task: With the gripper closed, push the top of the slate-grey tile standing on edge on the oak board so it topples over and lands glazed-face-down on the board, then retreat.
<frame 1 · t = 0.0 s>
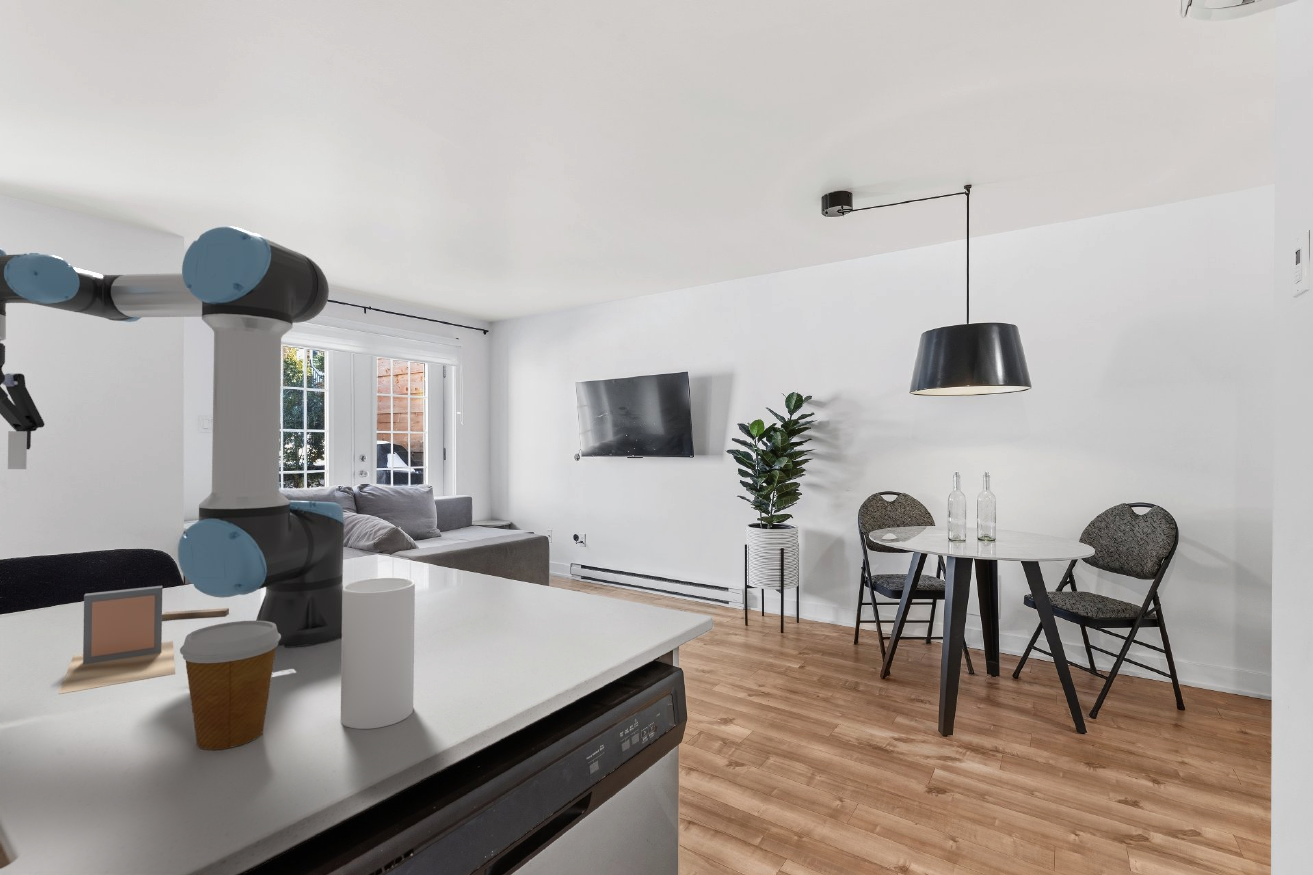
board: (122, 668, 93), on the kitchen counter
cup: (377, 715, 78), on the kitchen counter
tile: (123, 656, 96), point 1 cm above the kitchen counter, touching board
turner: (163, 621, 116), on the kitchen counter
disposable coffee cup: (230, 738, 72), on the kitchen counter
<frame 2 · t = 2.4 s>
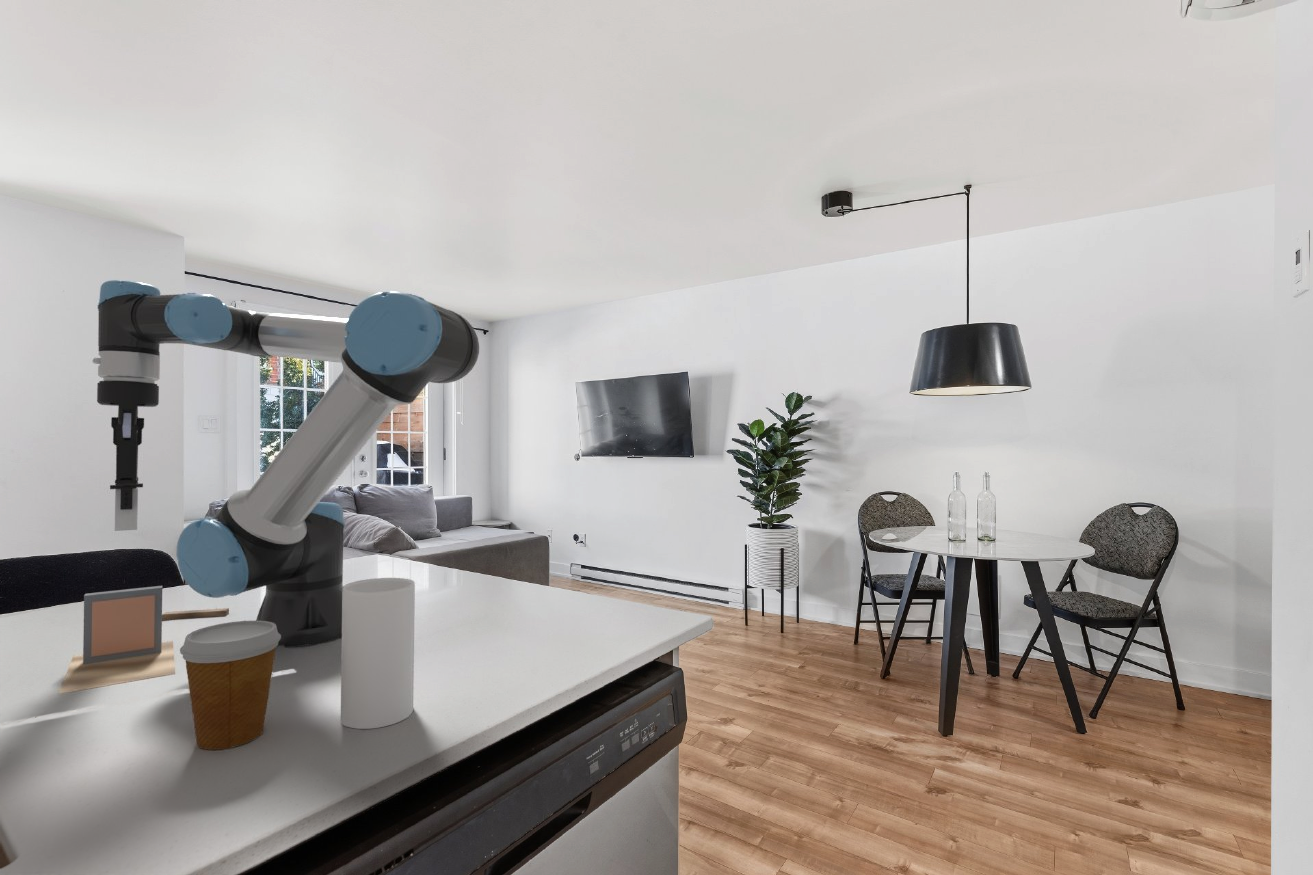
hand: (126, 529, 101), 19 cm above the kitchen counter, fingers closed
nothing on the kitchen counter moved.
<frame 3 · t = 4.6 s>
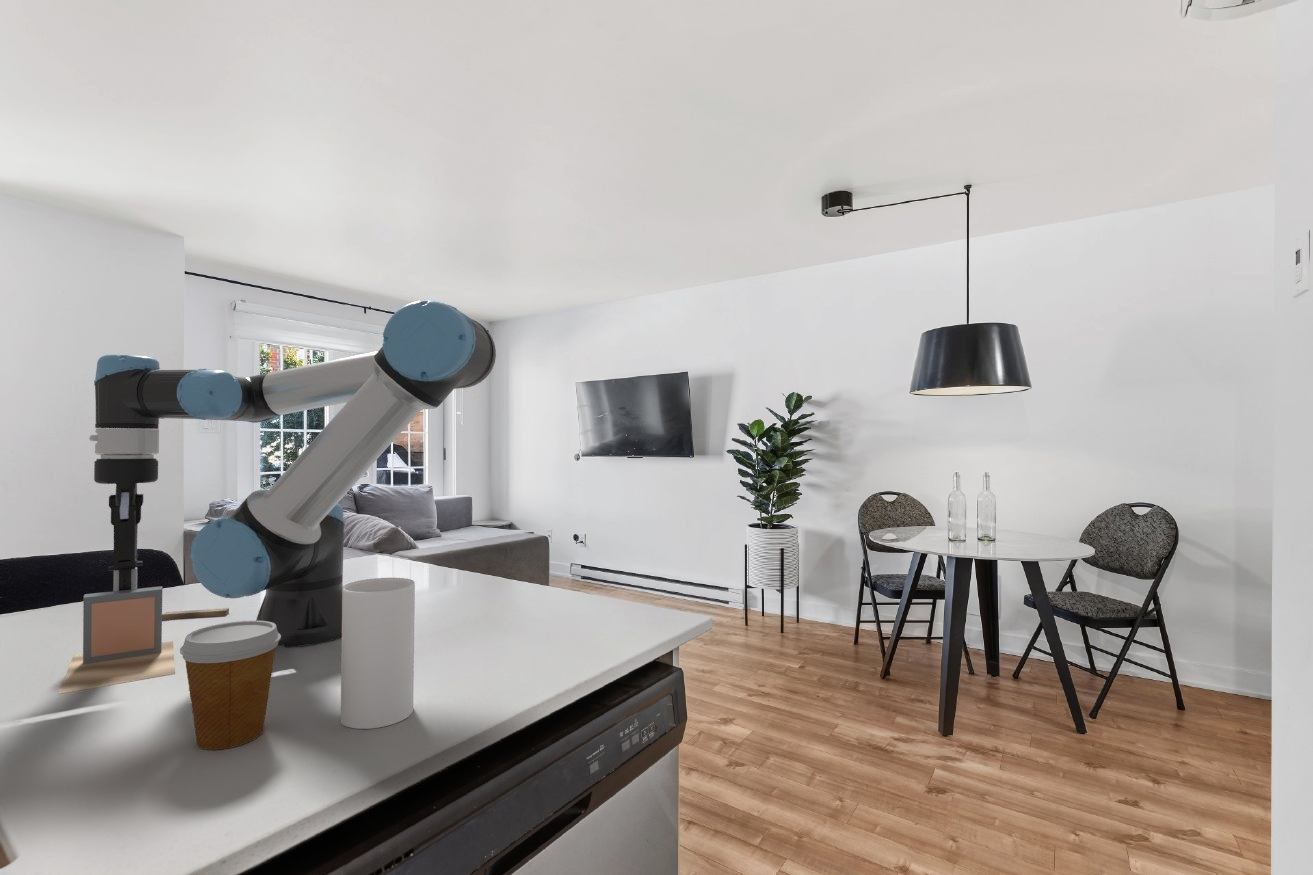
hand: (125, 610, 97), 7 cm above the kitchen counter, fingers closed
tile: (123, 656, 96), point 1 cm above the kitchen counter, tilted 6°, touching board
everything else where it was.
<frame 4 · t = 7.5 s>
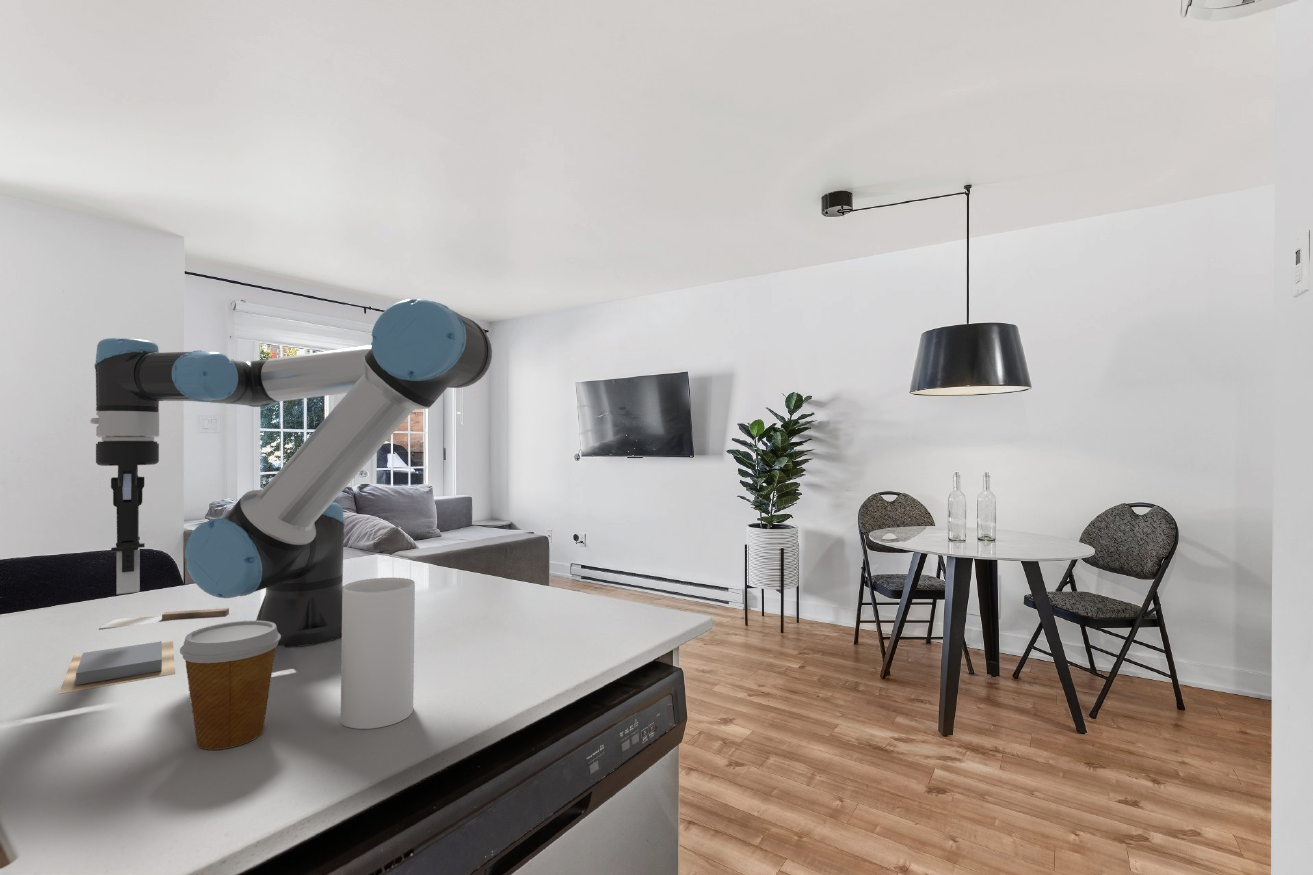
hand: (128, 591, 98), 10 cm above the kitchen counter, fingers closed
tile: (123, 652, 95), point 2 cm above the kitchen counter, tilted 90°, touching board
everything else where it was.
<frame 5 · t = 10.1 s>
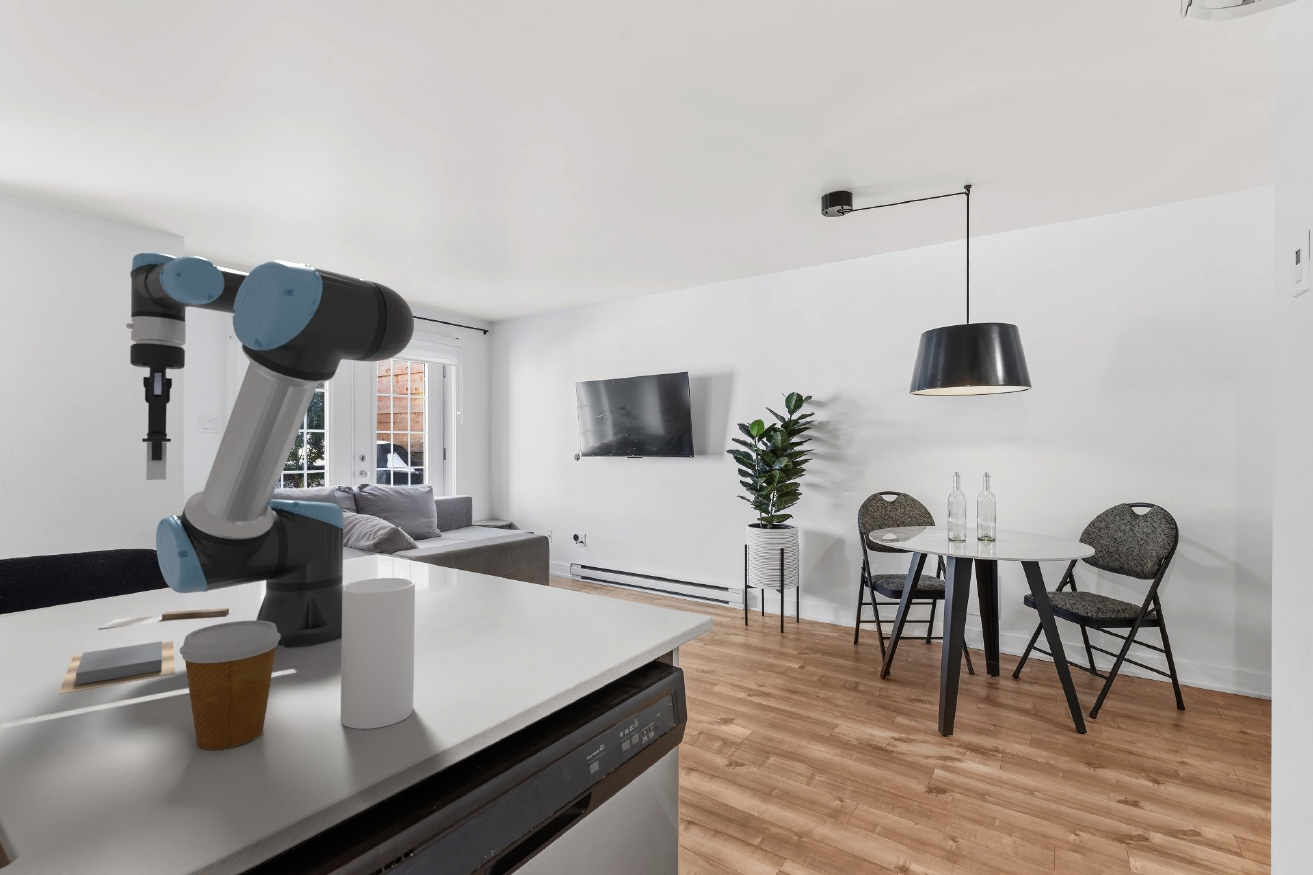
hand: (156, 479, 111), 26 cm above the kitchen counter, fingers closed
nothing on the kitchen counter moved.
at the end: tile tilted 90°; tile inside the target area on the board (3.0 cm from its centre), point 1.5 cm above the board's base; the gripper is holding nothing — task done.
